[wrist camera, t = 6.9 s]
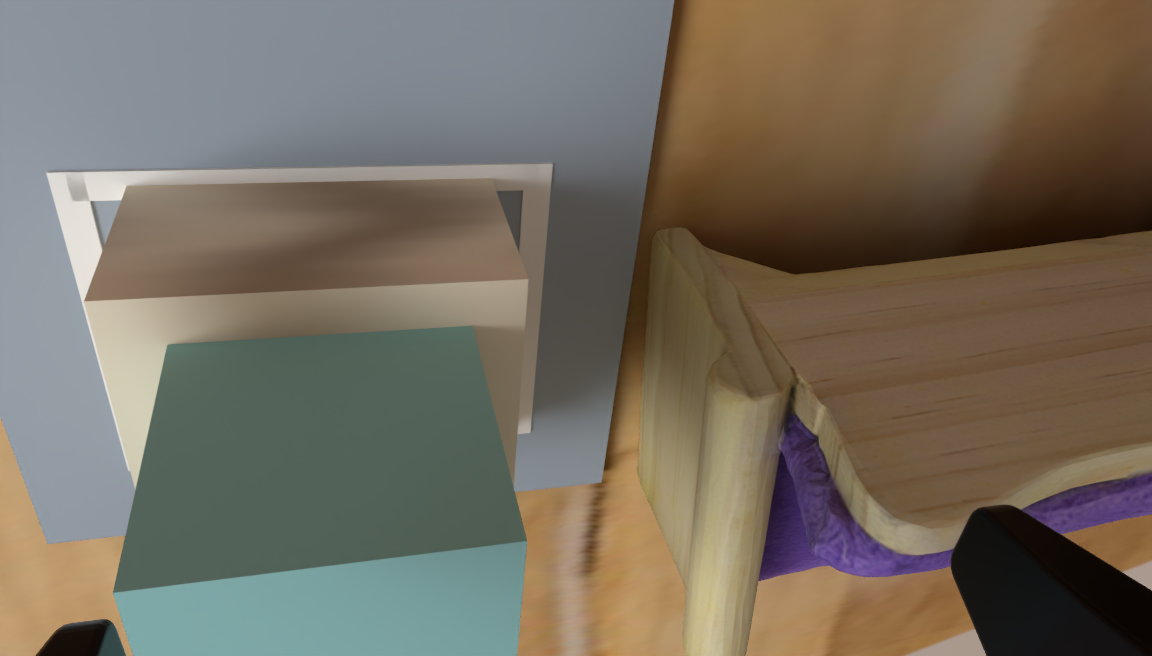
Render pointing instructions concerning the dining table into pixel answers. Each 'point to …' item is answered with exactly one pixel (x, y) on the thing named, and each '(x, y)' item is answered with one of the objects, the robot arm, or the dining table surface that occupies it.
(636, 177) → the building mat
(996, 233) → the dining table surface
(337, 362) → the teal block
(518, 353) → the block
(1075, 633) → the robot arm
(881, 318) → the toy sofa
